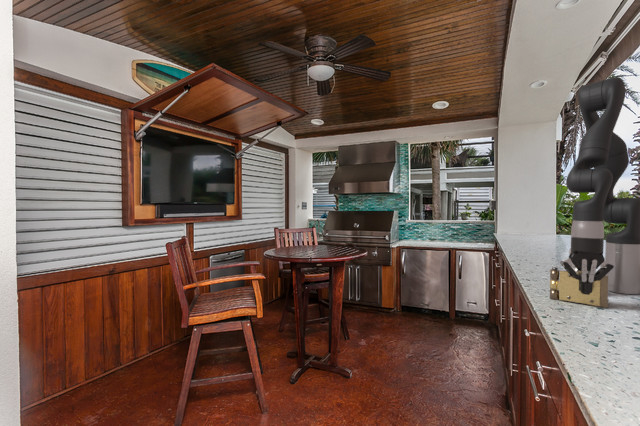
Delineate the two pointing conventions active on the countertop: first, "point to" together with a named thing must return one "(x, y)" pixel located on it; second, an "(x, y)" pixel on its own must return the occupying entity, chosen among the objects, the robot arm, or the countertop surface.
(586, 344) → the countertop surface
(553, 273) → the hinge mount
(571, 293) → the plate
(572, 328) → the countertop surface
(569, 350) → the countertop surface
